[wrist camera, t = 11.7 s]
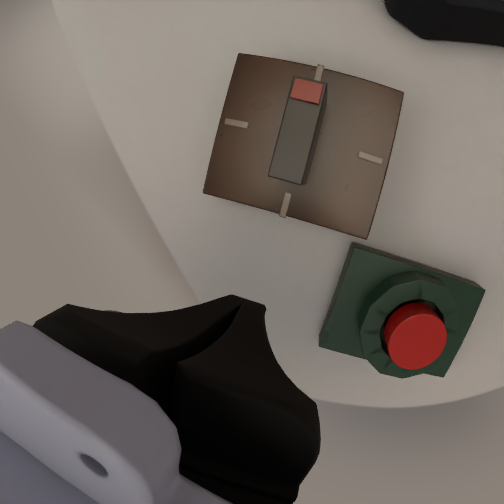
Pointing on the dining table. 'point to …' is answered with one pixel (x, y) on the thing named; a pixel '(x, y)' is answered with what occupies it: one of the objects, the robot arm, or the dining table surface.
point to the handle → (299, 130)
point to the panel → (326, 152)
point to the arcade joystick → (452, 19)
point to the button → (414, 336)
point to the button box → (394, 307)
